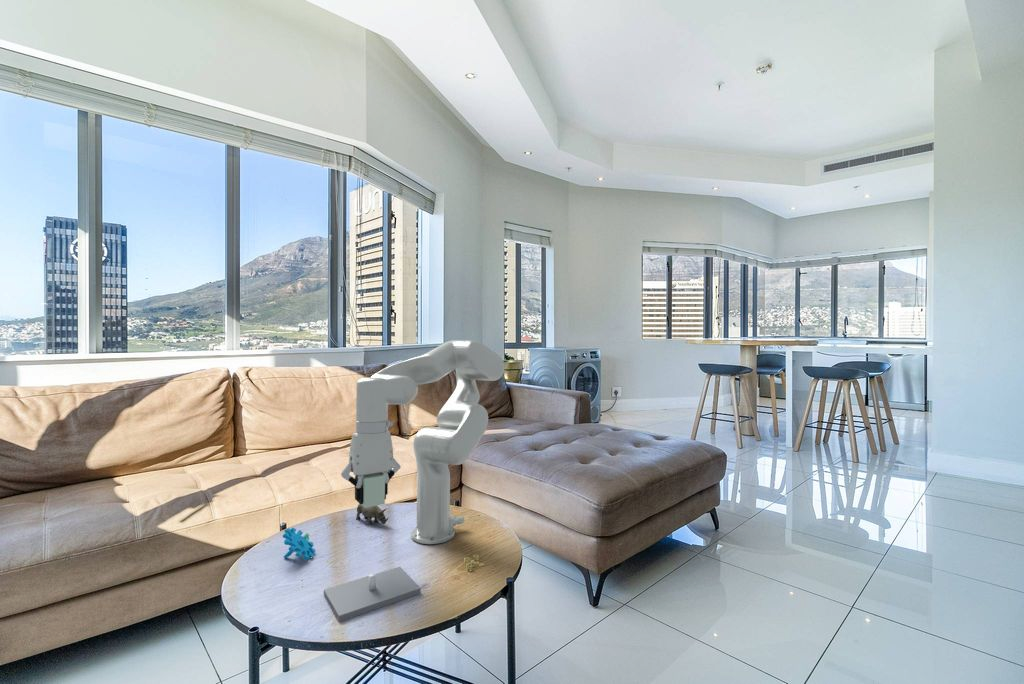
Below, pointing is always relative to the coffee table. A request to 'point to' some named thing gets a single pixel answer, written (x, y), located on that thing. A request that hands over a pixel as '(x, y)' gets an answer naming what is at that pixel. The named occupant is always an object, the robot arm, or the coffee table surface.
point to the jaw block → (373, 490)
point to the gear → (298, 543)
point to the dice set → (472, 562)
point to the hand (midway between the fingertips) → (371, 499)
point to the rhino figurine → (371, 514)
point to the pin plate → (370, 593)
